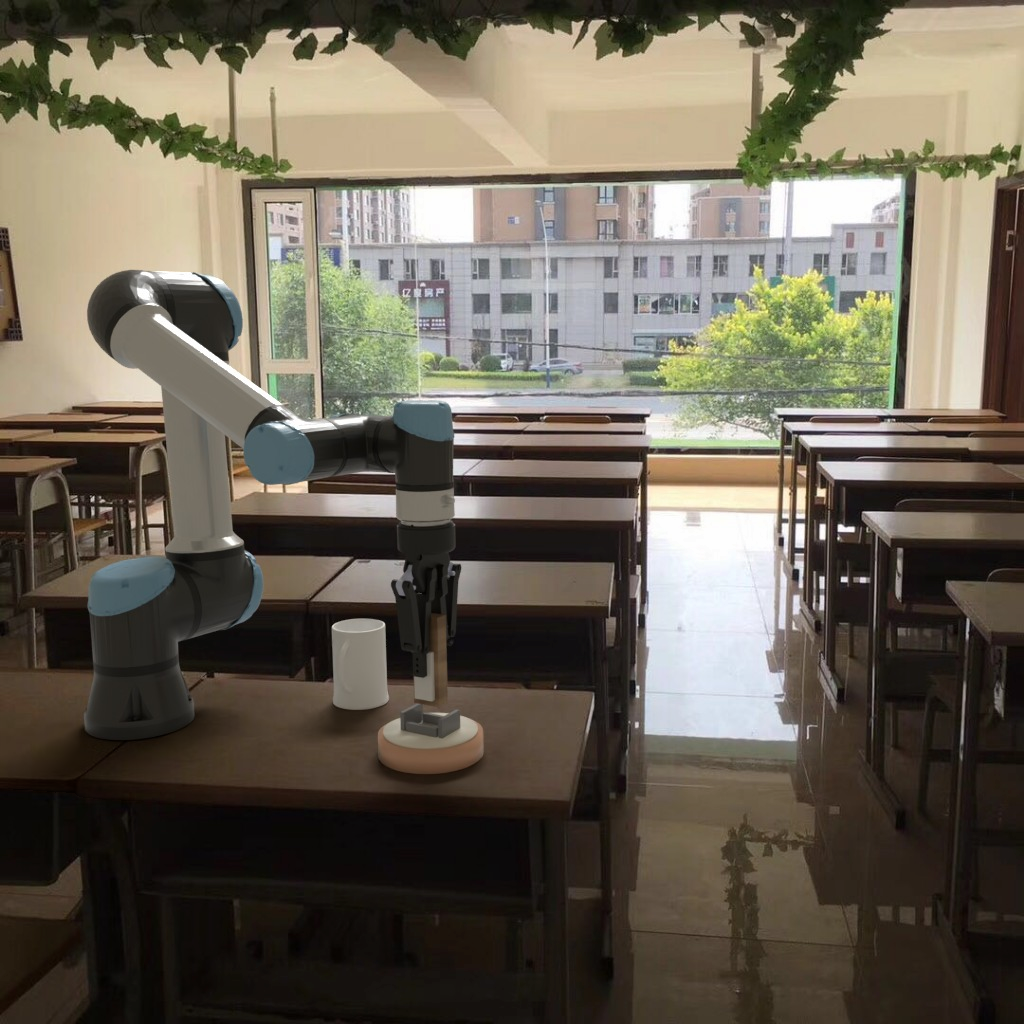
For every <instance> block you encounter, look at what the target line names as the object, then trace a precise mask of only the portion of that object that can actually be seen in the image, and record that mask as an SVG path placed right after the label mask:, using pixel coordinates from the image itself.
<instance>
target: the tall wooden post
mask: <svg viewBox="0 0 1024 1024" xmlns="http://www.w3.org/2000/svg"><path fill="white" fill-rule="evenodd" d="M429 651H431V652H434V684H435V700H434V701H426V700H421V699H415V691H414V690H413V701H414V704H417V703H418V704H423V706H431V707H434V708H435V707H436V708H441V707H443V706H445V705H446V704H448V702H449V698H448V689H449V688H448V661H447V659H448V658H447V657H448V653H447V651H448V650H447V645H446V615H443V614H436V613H431V624H430V650H429ZM413 677H414V674H413Z"/></svg>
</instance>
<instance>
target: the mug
mask: <svg viewBox="0 0 1024 1024" xmlns="http://www.w3.org/2000/svg"><path fill="white" fill-rule="evenodd" d="M386 637H387V636H386V623H385V622H384V621H382V620H379V619H375V618H374V619H373V618H351V619H345V620H341V621H338V622H335V623H334V624H333V625H332V626H331V646H332V671H333V672H332V673H333V697H332V703H333V705H334V707H336V708H339V709H343V710H350V711H363V710H364V711H365V710H371V709H377V708H379V707H382V706H384V705H386V704H387V703H388V702H389V700H390V696H389V692H388V678H387V677H388V675H387V674H388V673H387V672H388V671H387V647H386V646H387V644H386V643H387V642H386V641H387V639H386Z"/></svg>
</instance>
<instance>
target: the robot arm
mask: <svg viewBox="0 0 1024 1024" xmlns="http://www.w3.org/2000/svg"><path fill="white" fill-rule="evenodd" d="M86 316H87V318H86V319H87V324H88V328H89V331H90V334H91V335H92V337H93V340H94V342H96V343H97V345H98V346H99V347H100V349H101V350H102V351H103V352H105V354H107V355H108V356H109V357H110V358H111V359H112V360H114V361H115V362H117V364H119V365H121V366H123V367H125V368H126V369H136V370H137V369H138V370H140V372H142V373H143V374H145V375H146V376H147V377H149V378H150V379H152V381H153V382H155V383H157V384H158V385H159V386H161V387H160V388H161V399H162V400H161V401H162V411H163V421H164V423H163V424H164V433H165V434H164V435H165V441H166V442H165V444H166V455H167V456H166V457H167V465H168V476H169V477H168V478H169V487H170V499H171V510H172V511H171V512H172V523H173V531H174V536H173V538H172V540H170V541H169V542H168V544H167V545H166V546H165V550H164V551H165V557H162V556H141V557H138V558H137V557H136V558H134V559H133V558H129V559H124V560H120V561H117V562H114V563H111V564H107V565H106V566H104V567H102V568H100V569H98V570H97V571H96V572H95V573H93V575H92V576H91V577H90V580H89V583H88V601H87V609H88V610H87V611H88V612H89V624H90V626H89V627H90V637H91V638H90V639H91V648H92V649H91V651H92V661H93V662H92V665H93V679H92V683H91V684H92V685H91V687H90V690H89V692H90V693H89V697H88V702H87V706H86V708H85V711H84V713H83V720H84V731H85V732H86V733H87V734H88V735H90V736H92V737H94V738H97V739H102V740H110V741H111V740H112V741H132V740H133V741H134V740H142V739H149V738H155V737H158V736H159V737H160V736H163V735H166V734H169V733H173V732H176V731H178V730H180V729H182V728H184V727H186V726H188V725H190V723H192V721H193V720H194V719H195V715H196V714H195V701H194V698H193V696H192V695H191V694H190V689H189V688H188V685H187V682H186V679H185V677H184V675H183V673H182V670H181V668H180V662H179V661H180V660H179V642H181V641H186V640H189V639H193V638H195V637H199V636H203V635H206V634H210V633H213V632H216V631H223V630H224V631H225V630H228V629H231V628H232V627H234V626H235V625H238V624H241V623H244V622H246V621H247V620H249V619H250V618H251V617H252V616H253V614H254V613H255V612H256V611H257V609H258V608H259V606H260V603H261V601H262V598H263V593H264V576H263V572H262V571H263V570H262V569H261V566H260V564H256V563H257V559H256V558H255V556H254V555H253V554H252V553H250V552H249V551H248V550H246V549H245V542H244V540H243V539H242V538H241V537H239V536H238V535H237V534H236V533H235V532H234V531H233V530H234V529H233V517H232V505H231V495H230V494H231V493H230V483H229V470H228V469H229V468H228V458H227V447H226V446H227V445H226V444H227V443H226V437H227V438H228V439H230V440H231V441H232V442H233V443H235V444H236V445H237V446H239V447H240V448H241V449H242V450H243V451H242V453H243V460H244V464H245V466H246V467H248V469H249V472H250V475H251V477H252V478H254V479H255V480H256V481H258V482H259V483H261V484H263V485H267V486H277V485H282V486H283V485H284V486H289V485H295V484H298V483H303V482H309V481H313V480H314V481H315V480H320V479H324V478H332V477H338V476H345V475H351V474H358V473H371V472H373V473H389V474H394V476H395V477H394V478H395V480H394V481H395V517H396V518H397V520H399V521H400V522H398V523H397V525H396V534H397V535H396V537H397V538H396V541H397V544H396V545H397V550H398V551H399V552H400V553H402V554H403V555H404V563H403V569H402V571H403V574H402V575H401V577H400V578H399V579H392V580H391V582H390V588H391V590H392V593H393V595H394V598H395V607H396V614H397V625H398V632H399V640H400V649H401V650H402V651H405V652H410V653H411V654H412V673H413V674H414V676H413V692H414V691H415V699H421V700H426V701H434V700H435V684H434V652H431V651H429V650H430V624H431V613H436V614H443V615H446V646H448V647H452V645H453V644H454V639H450V638H454V637H455V636H456V631H457V616H458V615H457V614H458V613H457V611H458V598H459V597H458V596H459V594H458V593H459V592H458V591H459V580H460V576H461V572H462V564H461V563H455V562H452V561H451V557H450V554H449V553H451V552H452V551H454V550H455V548H456V541H457V540H456V524H455V523H454V521H453V520H452V519H453V518H454V517H455V515H456V514H455V512H456V511H455V501H456V499H455V493H454V492H455V489H454V487H455V484H454V483H455V482H454V452H455V451H454V448H455V447H454V443H455V442H454V440H455V432H454V426H453V413H452V407H451V406H450V404H449V403H448V402H446V401H443V400H436V399H435V400H432V399H431V400H429V399H428V400H418V399H417V400H403V401H398V402H396V403H395V404H394V405H393V413H392V415H379V414H378V415H377V414H362V413H361V414H360V413H358V412H357V413H356V412H351V413H340V414H333V415H330V416H329V417H323V418H321V417H320V418H313V419H312V418H311V419H306V418H303V417H301V416H300V415H298V414H297V413H295V412H294V411H292V410H291V409H289V408H288V407H287V406H286V405H284V404H282V403H281V402H279V400H277V399H275V398H274V397H273V396H271V395H270V394H269V393H267V392H266V391H265V390H263V389H262V388H261V387H259V386H258V385H256V383H254V382H252V381H251V380H250V379H248V378H247V377H246V376H244V375H242V374H241V373H240V372H239V371H238V370H237V369H235V368H233V367H232V366H231V365H230V355H229V352H230V350H232V349H233V348H234V347H236V346H237V344H238V343H239V339H240V338H239V337H241V336H242V333H243V327H244V326H243V325H244V323H243V320H244V319H243V312H242V309H241V305H240V302H239V300H238V298H237V296H236V295H235V293H234V291H233V290H232V289H231V288H230V287H229V286H228V285H227V284H226V282H224V280H222V279H221V278H218V277H216V276H213V275H211V274H210V275H209V274H202V273H198V272H194V271H193V272H190V271H185V272H183V271H182V272H181V271H161V270H160V271H157V270H155V271H154V270H143V269H128V270H127V269H126V270H121V271H118V272H115V273H112V274H111V275H109V276H106V278H104V279H103V280H101V281H100V282H99V283H98V285H96V287H95V288H94V290H93V291H92V293H91V295H90V298H89V299H88V304H87V310H86Z"/></svg>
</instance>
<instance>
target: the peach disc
mask: <svg viewBox="0 0 1024 1024" xmlns="http://www.w3.org/2000/svg"><path fill="white" fill-rule="evenodd" d="M423 709H424V704H418V703H414V704H413V705H411V706H409V707H406V708H405V709H404V710H401V711H399V712H400V714H399V716H400V717H399V718H396V719H393V720H391V721H389V722H388V723H386V724H384V725H383V726H382V727H380V728H379V730H378V732H377V750H378V753H377V755H378V756H377V757H378V760H379V761H380V763H381V764H382V765H384V766H385V767H386V768H389V769H391V770H393V771H397V772H401V773H406V774H414V775H437V774H447V773H451V772H457V771H459V770H460V771H461V770H463V769H466V768H469V767H472V766H473V765H475V764H476V763H478V762H479V761H480V760H481V759H482V758H483V756H484V729H483V726H482V725H481V724H480V723H479V722H477V721H475V720H473V719H472V718H469V717H466V716H463V715H461V709H457V708H455V709H454V710H451V711H450V712H447V713H446V712H425V711H424V710H423ZM423 711H424V712H423Z"/></svg>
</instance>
